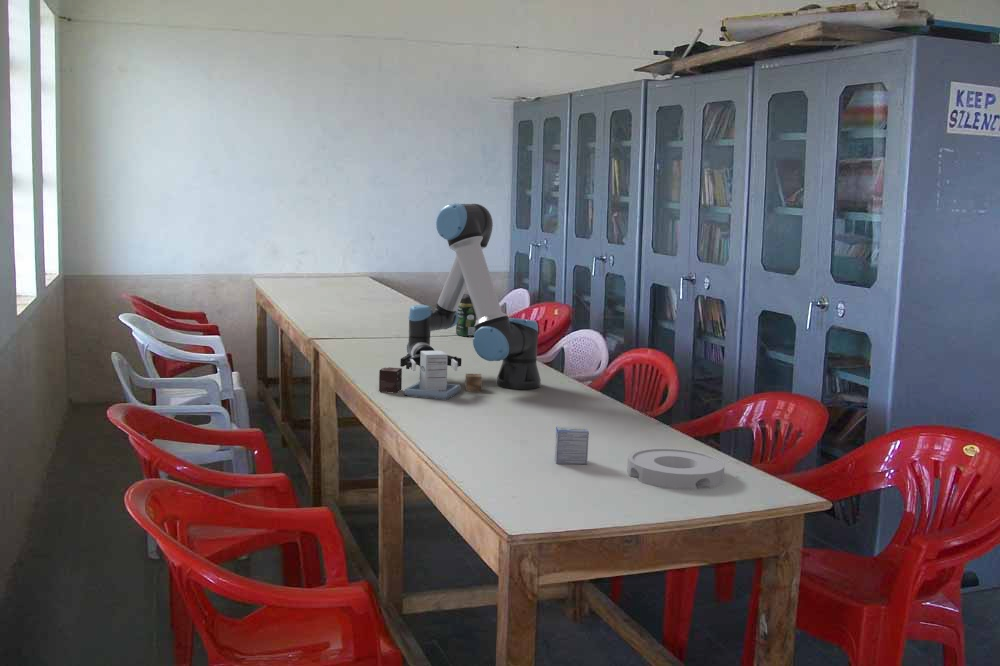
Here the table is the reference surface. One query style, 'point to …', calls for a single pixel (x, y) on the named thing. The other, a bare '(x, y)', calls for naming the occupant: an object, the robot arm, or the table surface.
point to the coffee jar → (466, 317)
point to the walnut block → (473, 382)
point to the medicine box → (571, 445)
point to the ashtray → (675, 468)
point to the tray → (418, 392)
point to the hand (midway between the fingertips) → (435, 366)
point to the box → (390, 379)
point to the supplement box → (433, 371)
